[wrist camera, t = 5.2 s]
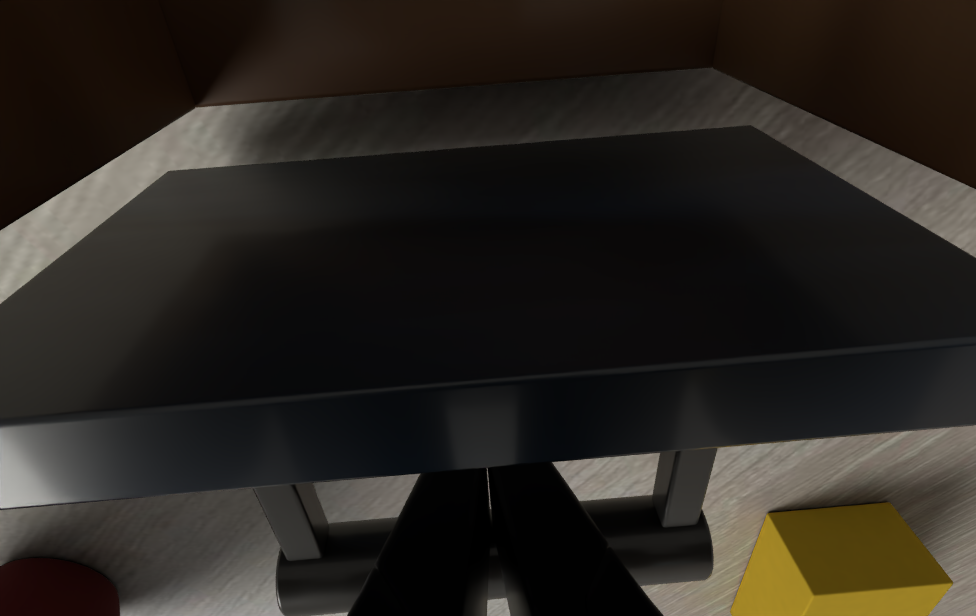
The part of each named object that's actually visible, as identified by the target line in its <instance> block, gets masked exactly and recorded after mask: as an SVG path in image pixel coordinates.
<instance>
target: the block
mask: <svg viewBox="0 0 976 616" xmlns="http://www.w3.org/2000/svg"><path fill="white" fill-rule="evenodd" d="M952 584H953V581H952V580H951V579H950V578H949V576H948V575H947V574H946V573H945V571H944V570H943V569H942V567H941V566H940V565H939V564H938V562H937V561H936V560H935V559H934V557H933V556H932V555H931V554H930V552H929V551H928V550H927V549H926V547H925V546H924V545H923V543H922V542H921V541H920V540H919V538H918V537H917V536H916V535H915V533H914V532H913V531H912V530H911V528H910V527H909V526H908V525H907V523H906V522H905V521H904V519H903V518H902V517H901V516H900V514H899V513H898V512H897V511H896V509H895V508H894V507H893V506H892V504H891V503H889V502H887V503H875V504H864V505H853V506H842V507H830V508H819V509H808V510H796V511H785V512H774V513H768V514H767V515H766V518H765V521H764V523H763V526H762V529H761V531H760V534H759V537H758V539H757V542H756V545H755V547H754V550H753V552H752V555H751V558H750V560H749V563H748V566H747V568H746V571H745V574H744V576H743V579H742V582H741V584H740V587H739V590H738V592H737V595H736V597H735V600H734V603H733V605H732V608H731V611H730V613H731V615H732V616H928V615H929V614H930V612H931V611H932V610H933V608H934V607H935V606H936V605H937V603H938V602H939V601H940V600H941V598H942V597H943V596H944V595H945V593H946V592H947V591H948V590H949V588H950V587H951V586H952Z"/></svg>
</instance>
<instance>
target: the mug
mask: <svg viewBox="0 0 976 616" xmlns="http://www.w3.org/2000/svg"><path fill="white" fill-rule="evenodd" d="M0 616H120V604H119V596H118V592H117V590H116V588H115V586H114V585H113V584H112V583H111V582H110V581H109V580H108V579H107V578H105V577H104V576H103V575H102V574H100V573H98V572H96V571H95V570H92V569H90V568H88V567H85V566H83V565H80V564H77V563H73V562H69V561H65V560H60V559H51V558H28V559H20V560H15V561H12V562H9V563H6V564H4V565H2V566H0Z"/></svg>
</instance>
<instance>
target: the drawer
mask: <svg viewBox="0 0 976 616" xmlns="http://www.w3.org/2000/svg"><path fill="white" fill-rule="evenodd" d="M702 68H713V69H716V70H718V71H720V72H722V73H724V74H726V75H729V76H731V77H733V78H735V79H737V80H739V81H742V82H744V83H746V84H748V85H750V86H752V87H755V88H757V89H759V90H761V91H763V92H766V93H768V94H770V95H772V96H774V97H776V98H779V99H781V100H783V101H785V102H787V103H789V104H792V105H794V106H796V107H798V108H800V109H803V110H805V111H807V112H809V113H811V114H813V115H816V116H818V117H820V118H822V119H824V120H826V121H829V122H831V123H833V124H835V125H837V126H839V127H842V128H844V129H846V130H848V131H850V132H853V133H855V134H857V135H859V136H861V137H863V138H866V139H868V140H870V141H872V142H874V143H876V144H879V145H881V146H883V147H885V148H887V149H890V150H892V151H894V152H896V153H898V154H900V155H903V156H905V157H907V158H909V159H911V160H913V161H916V162H918V163H920V164H922V165H924V166H926V167H929V168H931V169H933V170H935V171H937V172H940V173H942V174H944V175H946V176H948V177H950V178H953V179H955V180H957V181H959V182H961V183H963V184H966V185H968V186H970V187H972V188H974V189H976V0H0V230H2V229H3V228H5V227H7V226H8V225H10V224H11V223H13V222H15V221H16V220H18V219H19V218H21V217H22V216H24V215H26V214H27V213H29V212H30V211H32V210H34V209H35V208H37V207H38V206H40V205H42V204H43V203H45V202H46V201H48V200H50V199H51V198H53V197H54V196H56V195H58V194H59V193H61V192H62V191H64V190H66V189H67V188H69V187H70V186H72V185H73V184H75V183H77V182H78V181H80V180H81V179H83V178H85V177H86V176H88V175H89V174H91V173H93V172H94V171H96V170H97V169H99V168H101V167H102V166H104V165H105V164H107V163H109V162H110V161H112V160H113V159H115V158H117V157H118V156H120V155H121V154H123V153H125V152H126V151H128V150H129V149H131V148H132V147H134V146H136V145H137V144H139V143H140V142H142V141H144V140H145V139H147V138H148V137H150V136H152V135H153V134H155V133H156V132H158V131H160V130H161V129H163V128H164V127H166V126H168V125H169V124H171V123H172V122H174V121H176V120H177V119H179V118H180V117H182V116H183V115H185V114H187V113H188V112H190V111H191V110H193V109H195V107H208V106H221V105H234V104H247V103H260V102H273V101H286V100H299V99H312V98H325V97H338V96H351V95H364V94H377V93H390V92H403V91H416V90H429V89H442V88H455V87H468V86H481V85H494V84H507V83H520V82H533V81H546V80H559V79H572V78H585V77H598V76H611V75H624V74H637V73H650V72H663V71H676V70H689V69H702ZM972 425H976V258H975V257H974V256H972V255H970V254H969V253H967V252H965V251H964V250H962V249H960V248H958V247H957V246H955V245H953V244H952V243H950V242H948V241H947V240H945V239H943V238H941V237H940V236H938V235H936V234H935V233H933V232H931V231H930V230H928V229H926V228H925V227H923V226H921V225H919V224H918V223H916V222H914V221H913V220H911V219H909V218H908V217H906V216H904V215H903V214H901V213H899V212H897V211H896V210H894V209H892V208H891V207H889V206H887V205H886V204H884V203H882V202H881V201H879V200H877V199H875V198H874V197H872V196H870V195H869V194H867V193H865V192H864V191H862V190H860V189H858V188H857V187H855V186H853V185H852V184H850V183H848V182H847V181H845V180H843V179H842V178H840V177H838V176H836V175H835V174H833V173H831V172H830V171H828V170H826V169H825V168H823V167H821V166H820V165H818V164H816V163H814V162H813V161H811V160H809V159H808V158H806V157H804V156H803V155H801V154H799V153H798V152H796V151H794V150H792V149H791V148H789V147H787V146H786V145H784V144H782V143H781V142H779V141H777V140H775V139H774V138H772V137H770V136H769V135H767V134H765V133H764V132H762V131H760V130H759V129H757V128H755V127H753V126H751V125H749V126H736V127H723V128H711V129H698V130H685V131H672V132H660V133H647V134H634V135H621V136H609V137H596V138H583V139H571V140H558V141H545V142H532V143H520V144H507V145H494V146H481V147H469V148H456V149H443V150H430V151H418V152H405V153H392V154H380V155H367V156H354V157H341V158H329V159H316V160H303V161H290V162H278V163H265V164H252V165H239V166H227V167H214V168H201V169H189V170H176V171H168V172H166V173H165V174H164V175H163V176H161V177H160V178H159V179H158V180H156V181H155V182H154V183H153V184H151V185H150V186H149V187H147V188H146V189H145V190H144V191H142V192H141V193H140V194H139V195H137V196H136V197H135V198H134V199H132V200H131V201H130V202H128V203H127V204H126V205H125V206H123V207H122V208H121V209H120V210H118V211H117V212H116V213H115V214H113V215H112V216H111V217H110V218H108V219H107V220H106V221H104V222H103V223H102V224H101V225H99V226H98V227H97V228H96V229H94V230H93V231H92V232H91V233H89V234H88V235H87V236H85V237H84V238H83V239H82V240H80V241H79V242H78V243H77V244H75V245H74V246H73V247H72V248H70V249H69V250H68V251H66V252H65V253H64V254H63V255H61V256H60V257H59V258H58V259H56V260H55V261H54V262H53V263H51V264H50V265H49V266H48V267H46V268H45V269H44V270H42V271H41V272H40V273H39V274H37V275H36V276H35V277H34V278H32V279H31V280H30V281H29V282H27V283H26V284H25V285H23V286H22V287H21V288H20V289H18V290H17V291H16V292H15V293H13V294H12V295H11V296H10V297H8V298H7V299H6V300H4V301H3V302H2V303H1V304H0V510H5V509H17V508H28V507H40V506H51V505H63V504H74V503H86V502H97V501H109V500H120V499H132V498H143V497H155V496H167V495H178V494H190V493H201V492H213V491H224V490H236V489H247V488H253V490H254V492H255V494H256V497H257V499H258V501H259V503H260V505H261V507H262V509H263V511H264V513H265V515H266V517H267V519H268V521H269V524H270V526H271V528H272V530H273V532H274V534H275V536H276V538H277V540H278V542H279V544H280V546H281V547H280V551H279V555H278V561H277V568H276V595H277V601H278V605H279V608H280V610H281V612H282V614H283V615H284V616H313V615H324V614H335V613H346V612H349V611H350V609H351V608H352V606H353V604H354V602H355V600H356V598H357V597H358V595H359V593H360V591H361V589H362V587H363V585H364V583H365V581H366V579H367V577H368V575H369V573H370V571H371V569H372V568H374V567H375V562H376V560H377V558H378V556H379V554H380V552H381V550H382V548H383V546H384V544H385V542H386V540H387V538H388V536H389V535H390V533H391V531H392V529H393V527H394V525H395V523H396V521H397V519H398V517H395V518H383V519H372V520H361V521H349V522H338V523H328V522H327V519H326V517H325V514H324V511H323V509H322V506H321V504H320V501H319V498H318V496H317V493H316V490H315V488H314V485H313V483H316V482H328V481H339V480H351V479H362V478H374V477H385V476H397V475H408V474H420V473H431V472H443V471H454V470H466V469H477V468H489V467H500V466H512V465H523V464H535V463H546V462H558V461H569V460H581V459H593V458H604V457H616V456H627V455H639V454H650V453H660V456H659V462H658V467H657V473H656V479H655V484H654V490H653V495H645V496H634V497H622V498H611V499H599V500H588V501H579V502H580V503H581V504H582V506H583V507H584V509H585V510H586V512H587V513H588V514H589V516H590V517H591V519H592V520H593V522H594V523H595V524H596V526H597V527H598V529H599V530H600V532H601V533H602V534H603V536H604V537H605V539H606V540H607V542H608V543H609V546H608V547H612V548H613V550H614V551H615V553H616V554H617V555H618V557H619V558H620V560H621V561H622V563H623V564H624V565H625V567H626V568H627V570H628V571H629V572H630V574H631V575H632V576H633V578H634V579H635V580H636V582H637V583H638V584H639V586H645V585H657V584H668V583H679V582H690V581H701V580H706V579H708V578H709V577H710V576H711V574H712V570H713V546H712V540H711V535H710V531H709V527H708V524H707V520H706V518H705V515H704V513H703V510H702V505H703V501H704V498H705V494H706V490H707V486H708V482H709V479H710V475H711V471H712V467H713V463H714V460H715V456H716V452H717V448H719V447H731V446H742V445H754V444H765V443H777V442H788V441H800V440H811V439H823V438H834V437H846V436H857V435H869V434H880V433H892V432H903V431H915V430H926V429H938V428H949V427H961V426H972ZM490 524H491V530H490V557H489V578H488V599H487V600H490V599H501V598H507V595H506V591H505V586H504V581H503V576H502V571H501V566H500V561H499V556H498V551H497V546H496V541H495V535H494V529H493V522H492V512H491V509H490ZM375 568H376V567H375Z"/></svg>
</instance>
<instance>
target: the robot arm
mask: <svg viewBox="0 0 976 616" xmlns="http://www.w3.org/2000/svg"><path fill="white" fill-rule="evenodd" d="M488 477H489V489H490V501H491V512H492V522H493V529H494V535H495V541H496V546H497V551H498V556H499V561H500V566H501V571H502V576H503V581H504V586H505V591H506V595H507V600H508V605H509V610H510V615H511V616H663V614H662V613H661V612H660V611H659V610H658V608H657V607H656V606H655V605H654V604H653V602H652V601H651V600H650V599H649V598H648V596H647V595H646V594H645V592H644V591H643V590H642V588H641V587H640V586H639V584H638V583H637V582H636V580H635V579H634V578H633V576H632V575H631V574H630V572H629V571H628V570H627V568H626V567H625V565H624V564H623V563H622V561H621V560H620V558H619V557H618V555H617V554H616V553H615V551H614V550H613V548H612V547H608V546H609V543H608V542H607V540H606V539H605V537H604V536H603V534H602V533H601V532H600V530H599V529H598V527H597V526H596V524H595V523H594V522H593V520H592V519H591V517H590V516H589V514H588V513H587V512H586V510H585V509H584V507H583V506H582V504H581V503H580V502H579V500H578V499H577V497H576V496H575V494H574V493H573V492H572V490H571V489H570V487H569V486H568V484H567V483H566V482H565V480H564V479H563V477H562V476H561V474H560V473H559V472H558V470H557V469H556V467H555V466H554V464H553V463H552V462H546V463H535V464H523V465H512V466H500V467H489V468H488ZM490 530H491V524H490V506H489V492H488V479H487V468H477V469H466V470H454V471H443V472H431V473H421V474H420V475H419V477H418V479H417V481H416V483H415V485H414V487H413V489H412V491H411V493H410V495H409V497H408V499H407V501H406V503H405V505H404V507H403V509H402V511H401V513H400V515H399V517H398V519H397V521H396V523H395V525H394V527H393V529H392V531H391V533H390V535H389V536H388V538H387V540H386V542H385V544H384V546H383V548H382V550H381V552H380V554H379V556H378V558H377V560H376V562H375V567H376V568H375V567H374V568H372V569H371V571H370V573H369V575H368V577H367V579H366V581H365V583H364V585H363V587H362V589H361V591H360V593H359V595H358V597H357V598H356V600H355V602H354V604H353V606H352V608H351V609H350V611H349V613H348V615H347V616H487V599H488V578H489V557H490Z"/></svg>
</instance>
